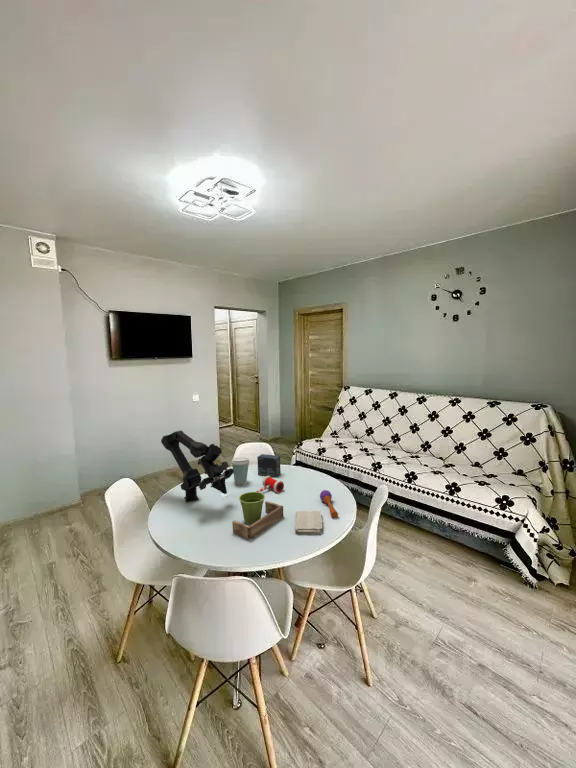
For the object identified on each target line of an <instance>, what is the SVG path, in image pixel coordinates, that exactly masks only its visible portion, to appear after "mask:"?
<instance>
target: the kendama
mask: <svg viewBox="0 0 576 768" xmlns="http://www.w3.org/2000/svg"><path fill="white" fill-rule="evenodd" d="M332 496H333V495H332V493H331V491H329V490H327V489H324V490H322V491H321V492H320V494H319V498H320V500H321V502H322V503H324V504H326V505H328V509H329V513H330V516H331V518H332V519H335V518H336V519H337V518H338V517H339V512H337V510H336V509H335V507H334V506H333V505H332V503H331V502H332Z"/></svg>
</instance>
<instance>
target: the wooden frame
mask: <svg viewBox="0 0 576 768" xmlns="http://www.w3.org/2000/svg"><path fill="white" fill-rule="evenodd" d="M264 506H265V513H267V514H266V515H264V516H263V517H261V519H259V520H258V521H256V522H255V523H253V524H252V525H249V524H245V523H242V522H240V521H238V520H233V521H232V522H231V523H232V533H233V534H235V535H238V536H239V537H242V538H244V539H247V540H249V541H251V540H252V539H254V538H255V537H256V536H258V535H260V534H261V533H262V532H263V531H265V530H267V528H269V527H271V526H272V525H273V524H275V523H276V522H278V521H279V520H280V519H282V518H284V505H280V504H278V503H274V502H272V501H268V500H266V501H264Z"/></svg>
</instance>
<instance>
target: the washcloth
mask: <svg viewBox="0 0 576 768" xmlns="http://www.w3.org/2000/svg"><path fill="white" fill-rule="evenodd" d="M322 530H323V519H322V512H321V510H309V511H308V510H298V511H295V524H294V534H295V535H297V534H298V535H301V536H302V535H307V536H308V535H313V536H315V535H318V536H319V535H322V532H323V531H322Z"/></svg>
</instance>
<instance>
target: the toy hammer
mask: <svg viewBox="0 0 576 768" xmlns="http://www.w3.org/2000/svg"><path fill="white" fill-rule="evenodd" d="M262 486H263V487H262V488H260V489H257V490H256V491H255V492H260V493H262V492H264V491H265V490H267V489H271V490H273V491H274V492H275V493H277V494H278V493H281V492H283V490H284V488H285V483H284V481H281V480H277V479H274V477H270V476H264V478H263V480H262Z"/></svg>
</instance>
